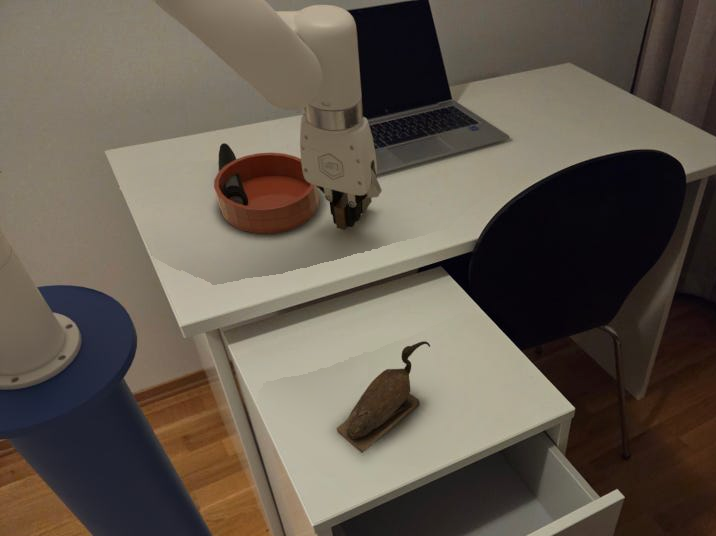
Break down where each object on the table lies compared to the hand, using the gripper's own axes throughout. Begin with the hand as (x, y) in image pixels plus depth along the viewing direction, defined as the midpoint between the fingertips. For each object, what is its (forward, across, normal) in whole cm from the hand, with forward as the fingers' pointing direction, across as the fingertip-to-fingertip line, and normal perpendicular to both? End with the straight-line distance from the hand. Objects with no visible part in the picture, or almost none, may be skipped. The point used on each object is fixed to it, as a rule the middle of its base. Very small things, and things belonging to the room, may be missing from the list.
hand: (346, 220), depth 99 cm
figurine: (+2, +19, -30) cm, 36 cm away
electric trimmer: (+2, -22, +3) cm, 23 cm away
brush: (0, 0, +3) cm, 3 cm away
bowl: (+2, -14, +1) cm, 14 cm away
